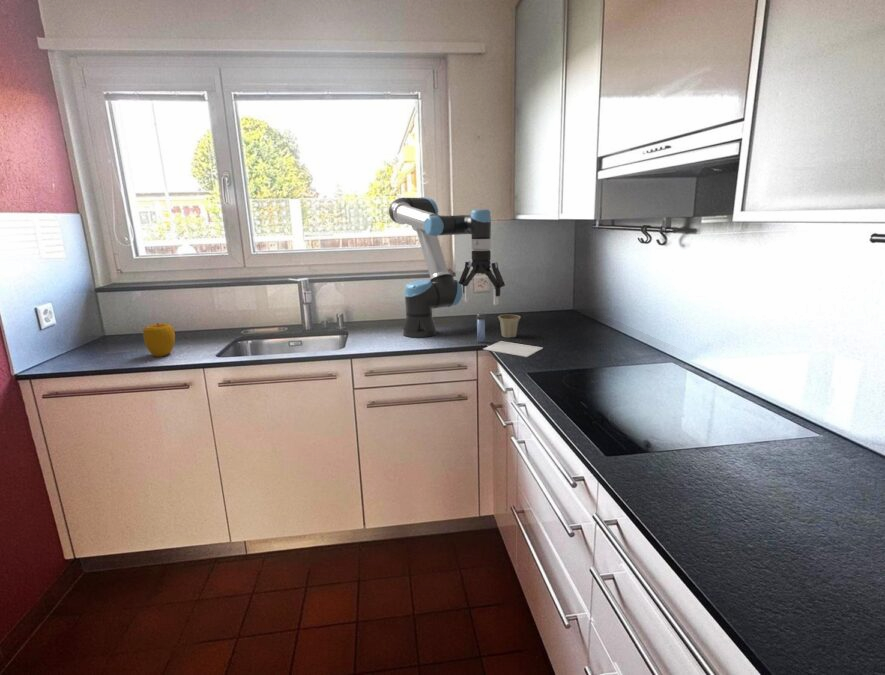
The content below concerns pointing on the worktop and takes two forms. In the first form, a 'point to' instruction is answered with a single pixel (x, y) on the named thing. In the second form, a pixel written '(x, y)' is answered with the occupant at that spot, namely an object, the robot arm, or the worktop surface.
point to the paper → (513, 348)
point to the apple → (159, 339)
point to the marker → (480, 327)
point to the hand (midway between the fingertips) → (481, 303)
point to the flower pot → (509, 325)
